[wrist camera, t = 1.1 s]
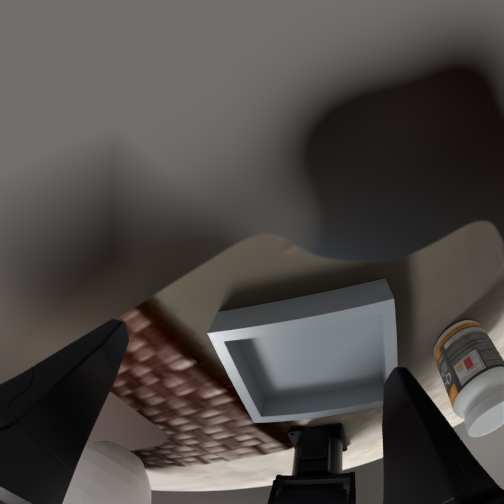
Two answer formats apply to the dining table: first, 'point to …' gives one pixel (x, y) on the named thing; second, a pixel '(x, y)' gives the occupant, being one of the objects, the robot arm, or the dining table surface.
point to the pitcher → (108, 477)
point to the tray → (310, 352)
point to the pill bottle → (472, 376)
